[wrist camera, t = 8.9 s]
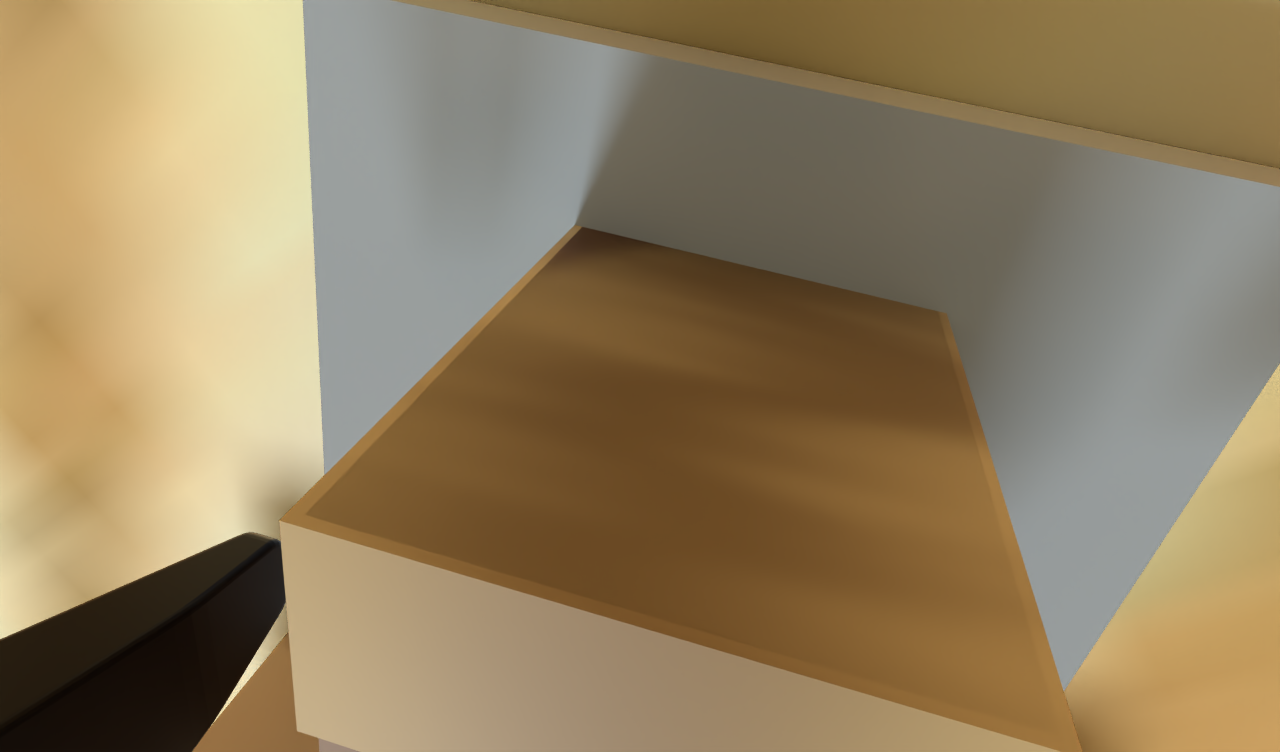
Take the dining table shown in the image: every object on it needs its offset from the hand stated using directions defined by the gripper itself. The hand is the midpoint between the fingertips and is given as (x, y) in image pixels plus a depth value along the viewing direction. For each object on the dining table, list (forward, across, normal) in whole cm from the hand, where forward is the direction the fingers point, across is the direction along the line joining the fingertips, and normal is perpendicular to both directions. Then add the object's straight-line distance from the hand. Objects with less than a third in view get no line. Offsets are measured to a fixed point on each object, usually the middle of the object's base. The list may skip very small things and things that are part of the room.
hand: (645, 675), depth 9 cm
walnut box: (+3, 0, 0) cm, 3 cm away
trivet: (+5, 0, 0) cm, 5 cm away
